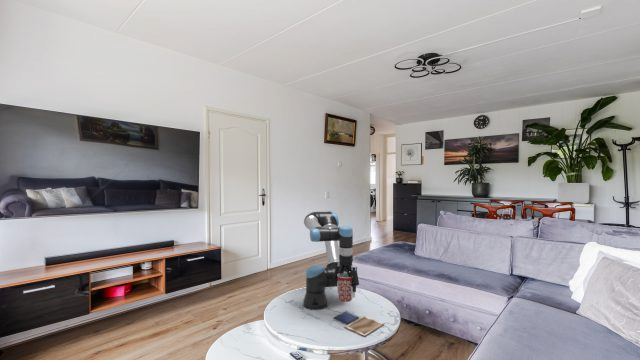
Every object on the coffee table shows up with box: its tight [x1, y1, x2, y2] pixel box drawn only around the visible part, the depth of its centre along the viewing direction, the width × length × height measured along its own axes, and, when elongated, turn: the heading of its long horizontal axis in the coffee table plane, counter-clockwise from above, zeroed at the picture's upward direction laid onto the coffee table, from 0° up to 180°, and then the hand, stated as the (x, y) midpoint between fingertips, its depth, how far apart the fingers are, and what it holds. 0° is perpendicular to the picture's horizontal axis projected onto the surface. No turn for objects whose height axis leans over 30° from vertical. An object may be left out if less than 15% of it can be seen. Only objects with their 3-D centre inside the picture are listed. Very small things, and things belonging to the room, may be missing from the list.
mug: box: [337, 272, 353, 303], centre depth 161 cm, size 13×9×14 cm
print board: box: [344, 315, 385, 338], centre depth 151 cm, size 13×17×1 cm
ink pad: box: [333, 311, 360, 326], centre depth 160 cm, size 10×10×1 cm
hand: (346, 295), depth 160 cm, fingers closed on mug, 9 cm apart
